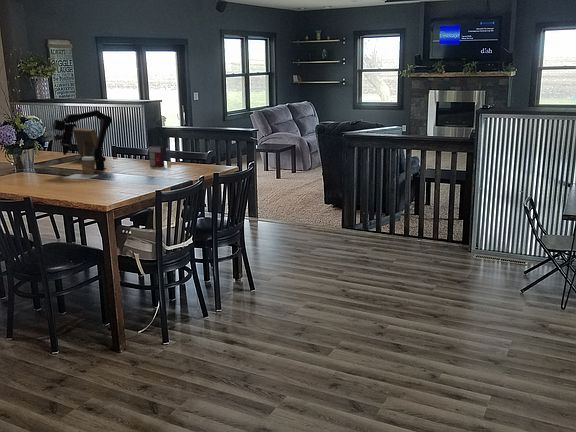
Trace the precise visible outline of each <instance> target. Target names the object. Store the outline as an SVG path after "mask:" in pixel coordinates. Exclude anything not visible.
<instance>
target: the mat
mask: <svg viewBox="0 0 576 432" xmlns="http://www.w3.org/2000/svg"><path fill="white" fill-rule="evenodd" d="M98 176H100V175H99V174H94V175H88V174H83V173H82V174H80V173H78V174H77V173H74V174H71V175H68V176H64V177H61V179H62V180H64V179H65V180H85V181H87V180H89V179H93V178H95V177H98Z"/></svg>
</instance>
